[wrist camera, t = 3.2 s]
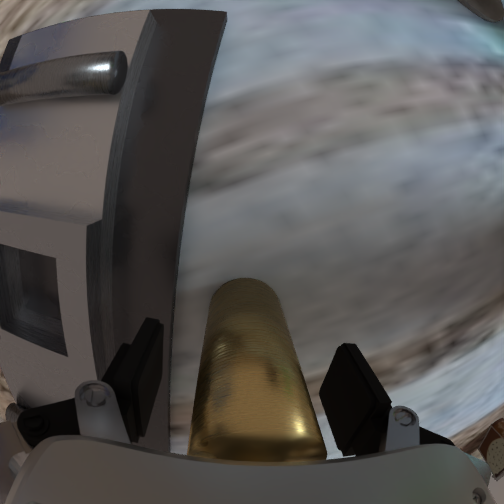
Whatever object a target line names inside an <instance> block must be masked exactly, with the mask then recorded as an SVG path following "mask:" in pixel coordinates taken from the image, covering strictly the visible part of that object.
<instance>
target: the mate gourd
mask: <svg viewBox="0 0 504 504" xmlns="http://www.w3.org/2000/svg"><path fill="white" fill-rule="evenodd" d="M458 1H459V2H461V3H462V4H463V5H464V6H465V7H467V8H468V9H469V10H471V11H472V12H473V13H475V14H476V15H478V16H479V17H481V18H483V19H484V20H487V21H490V22H498V21H500V20H502V19H503V17H504V9H503V5H502V2H501V0H458Z"/></svg>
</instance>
